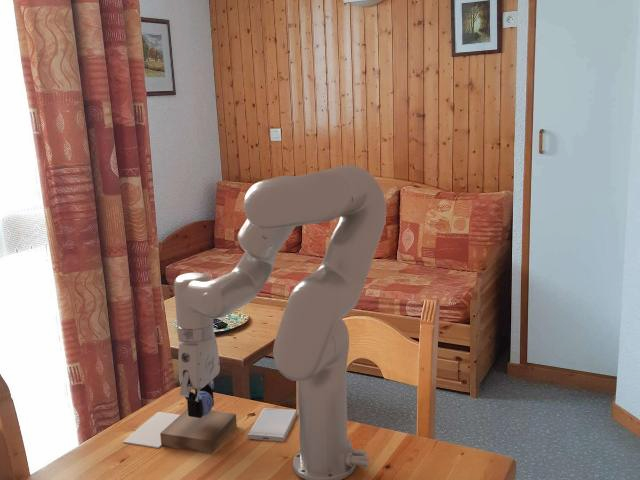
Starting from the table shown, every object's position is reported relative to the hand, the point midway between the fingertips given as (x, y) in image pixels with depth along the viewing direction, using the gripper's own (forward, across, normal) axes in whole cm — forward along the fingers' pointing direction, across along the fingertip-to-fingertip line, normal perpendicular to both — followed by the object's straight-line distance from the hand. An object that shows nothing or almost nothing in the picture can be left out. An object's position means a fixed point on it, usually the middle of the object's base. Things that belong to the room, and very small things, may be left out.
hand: (201, 410), depth 139 cm
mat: (+6, 0, +11) cm, 13 cm away
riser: (+6, 0, +1) cm, 6 cm away
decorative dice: (+1, 0, 0) cm, 1 cm away
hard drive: (+7, +8, -13) cm, 17 cm away
